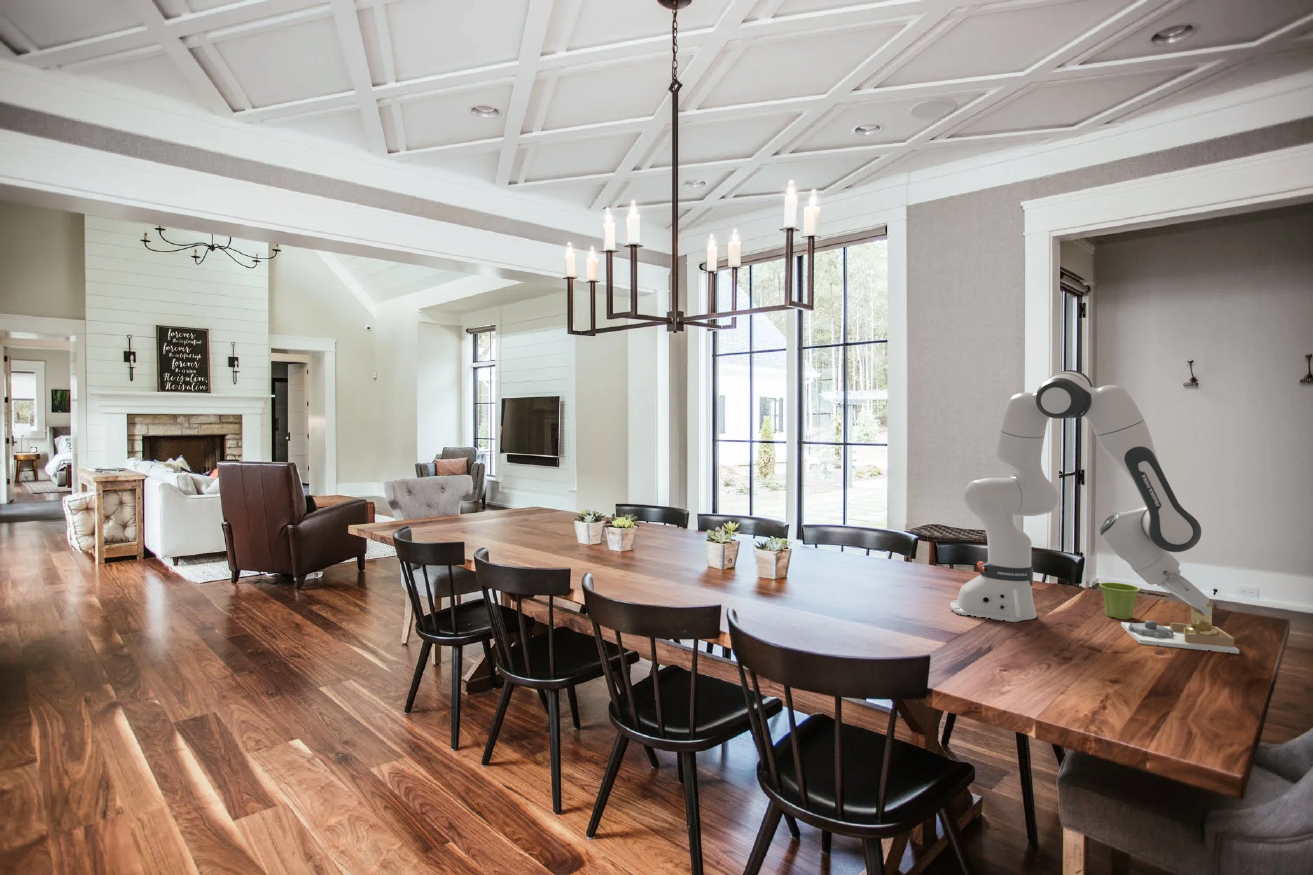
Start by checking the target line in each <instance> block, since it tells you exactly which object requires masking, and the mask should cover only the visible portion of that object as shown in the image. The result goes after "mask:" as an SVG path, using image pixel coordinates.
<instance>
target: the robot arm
mask: <svg viewBox="0 0 1313 875" xmlns="http://www.w3.org/2000/svg"><path fill="white" fill-rule="evenodd" d="M1083 417H1084V418H1085V419H1086V420H1087V421H1088V423H1089V425H1090V426H1091V429H1092V431H1093V433H1094V435H1095V437H1096V440H1097V442H1098V443H1099V446H1100V447H1101V448H1102V450H1103V452H1105V454H1106V455H1107V457H1108V458H1109V459H1110V460H1111V461H1112V462H1113V463H1115V464H1116V465H1117V466H1119V467H1120V468H1121V469H1122V470H1123V471H1124V472H1125V473H1126V474H1127V475H1128V477H1129V478H1131V480H1132V481H1133V483H1134V485H1135V487H1136V488H1137V491H1138V493H1139V495H1140V497H1141V500H1142V502H1143V503H1144V505H1145V506H1142V507H1140V508H1139V507H1138V508H1136V509H1132V510H1128V511H1117V512H1114V513H1113V514H1111V515H1108V517H1107V518H1106V519H1105V520H1104V522H1103V523H1102V525H1101V526H1100V530H1099V534H1100V538H1101V539H1102V541H1103V542H1104V543H1105V544H1106V545H1107V546H1108V548H1110V549H1111V550H1112V551H1113V553H1115V554H1116V555H1117V556H1118V557H1119V558H1120V559H1122V560H1124V561H1125V562H1127V563H1128V565H1129V566H1130V568H1131V569H1132V570H1133V572H1135V573H1136V574H1137V575H1138V576H1139V577H1141V579H1143V581H1145V582H1146V583H1147V584H1148V585H1156V586H1158V587H1161V588H1163V589H1164V590H1166V592H1169V593H1170V594H1172V595H1174V596H1175V597H1177V598H1178V599H1180V600H1182V601H1183V602H1184V603H1186V604H1188V605H1190V606H1193V607H1194V608H1196V609H1199V610H1200V611H1201V612H1202V613H1203V614H1205V615H1208V614H1210V613H1211V612H1212V613H1213V609H1212V610H1211V609H1210V608H1209V607H1210V606H1209V607H1207V605H1206V603H1207V602H1209V603H1210V598H1209V597H1208V596H1206V594H1204V593H1203V592H1202V591H1201V590H1200V589H1199V588H1198V587H1196V586H1195V584H1193V583H1192V582H1191V581H1190V580H1188V579H1187V578H1186V577H1185V576H1184V575H1181V572H1182V571H1181V570H1180V569H1179V568H1180V566H1181V564H1180V562H1179V560H1177V559H1176V558H1175V557H1174V556H1173V555H1172V554H1171V553H1182V552H1185V551H1188V550H1190V549H1192V548H1194V547H1195V546H1197V544H1198V543H1199V541H1200V539H1201V536H1202V527H1201V525H1200V523H1199V520H1198V519H1196V518H1195V517H1194V516H1193V515H1192V514H1190V513H1189V512H1188V511H1187V510H1185V509H1184V508H1183V506H1182V505H1181V504H1180V503H1179V501H1178V499H1177V498H1176V495H1175V494H1174V491H1173V489H1172V488H1171V486H1170V483H1169V482H1168V480H1167V478H1166V476H1165V473H1164V472H1163V470H1162V467H1161V466H1160V461H1159V459H1158V455H1157V454H1156V449H1155V446H1154V444H1153V440H1152V436H1151V433H1150V431H1149V428H1148V426H1147V425H1148V424H1147V423H1146V421H1145V418H1144V417H1143V415H1142V412H1141V410H1140V409H1139V407H1138V405H1137V404H1136V402H1135V400H1134V399H1133V398H1132V396H1131V395H1130V393H1128V391H1127V390H1126V389H1125V388H1124V387H1122V386H1120V385H1116V384H1109V385H1108V384H1107V385H1103V386H1100V387H1093V383H1092V381H1091V380H1090V378H1089V377H1088V376H1087V375H1086V374H1085V373H1083V372H1081V371H1079V370H1073V369H1069V370H1068V369H1066V370H1063V371H1059V372H1058V373H1055V374H1054V375H1052V376H1050V377H1049V378H1047V380H1045V381H1044V382H1043V383H1042V384H1041V385H1040V386H1039V387H1038V389H1037V391H1036V392H1019V393H1016V394H1014V395H1013V396H1011V397H1010V399H1008V402H1007V404H1006V407H1005V410H1004V414H1003V416H1002V419H1001V424H1000V428H999V435H998V441H997V445H996V457H997V459H998V460H999V461H1000V463H1001V464H1003V465H1005V466H1007V467H1008V468H1010V476H1009V477H985V478H981V479H975V480H971V481H970V482H968V484H967V485H966V486H965V489H964V491H963V502H964V504H965V507H966V508H967V510H968V511H969V512H970V513H972V514H973V515H974V516H975V517H977V519H978V520H979V521H980V523H981V524H982V526H983V528H984V530H985V534H986V540H987V561H986V562H983V561H978V562H977V563H976V566H977V568H978V569H979V575H978V576H975V577H974V578H972V579H970V580H969V581H967V582H965V583H964V584H962V586H961V587H960V589H959V592H958V597H957V599H954V600H952V601H950V603H949V604H950V605H949V608H951V609H950V610H951V611H952V610H953V611H954V612H953V611H952V612H953V613H954V614H957V613H958V614H957V615H960V614H961V615H962V616H967V615H971V616H970V617H974V616H976V617H975V618H981V617H986V618H985V619H988V618H991V619H990V620H996V621H1003V620H1005V622H1011V623H1017V622H1021V621H1026V620H1027V621H1028V620H1033V619H1035V618H1037V617H1038V616H1037V615H1038V614H1037V613H1036V612H1037V610H1036V608H1035V604H1034V599H1033V598H1034V597H1033V589H1032V586H1033V584H1034V567H1033V566H1032V540H1031V538H1030V537H1029V535H1028V534H1026V532H1024V531H1022V530H1020V528H1017V527H1016V525H1015V522H1014V517H1036V516H1041V515H1046V514H1050V513H1052V512H1053V511H1054V510H1055V509H1056V508H1057V505H1058V503H1059V502H1058V501H1059V492H1058V490H1057V488H1056V486H1055V485H1054V484H1053V483H1052V482H1051V481H1050V480H1049V479H1048V478H1047V477H1046V475H1045V474H1044V471H1043V468H1042V454H1043V453H1042V452H1043V446H1044V442H1045V435H1046V430H1047V425H1048V422H1049V420H1050V418H1052V419H1057V420H1059V419H1079V418H1083ZM1207 597H1208V598H1209V599H1208V598H1207Z"/></svg>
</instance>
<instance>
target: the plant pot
mask: <svg viewBox="0 0 1313 875" xmlns="http://www.w3.org/2000/svg"><path fill="white" fill-rule="evenodd" d="M1099 587H1101V592H1102V594H1103V603H1104V609H1105V610H1104V612H1105V615H1106V616H1107V617H1109V618H1115V619H1118V620H1130V619H1132V618H1133V615H1134V614H1133V613H1134V609H1135V603H1136V600H1137V599H1136V598H1137V596H1138V595H1139V594H1138V593H1139V591H1140V590H1141V587H1139V586H1136V585H1132V584H1129V583H1128V584H1127V583H1121V582H1119V583H1118V582H1101V583H1099Z"/></svg>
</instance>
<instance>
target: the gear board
mask: <svg viewBox="0 0 1313 875" xmlns="http://www.w3.org/2000/svg"><path fill="white" fill-rule="evenodd" d="M1187 625H1191V623H1181V622H1170V626H1169V625H1158V623H1157V621H1155V620H1150V619H1146V620H1144V622H1141V623H1140V622H1136V623H1135V622H1125V621H1121V622H1120V626H1121V628H1123V629H1124V630H1125V631H1126V632H1127V633H1128V634H1129V635H1130V636H1131V637H1132V639H1134V640H1135V641H1136V642H1137V641H1138V642H1137V643H1138V644H1139V643H1140V645H1149V646H1157V645H1159V647H1168V648H1169V647H1170V648H1181V649H1191V650H1200V651H1208V650H1211V651H1210V652H1221V653H1228V652H1229V653H1231V654H1240V649H1239V648H1237V646H1235V637H1233V636H1231V635H1230V634H1228V633H1227V632H1226V631H1224V630H1222V629H1221V628H1220V627H1218V626H1215V625H1214V626H1213V625H1212V629H1215V630H1218V631H1219V636H1208V635H1197V634H1187V633H1184V627H1186V626H1187ZM1229 653H1228V654H1229Z"/></svg>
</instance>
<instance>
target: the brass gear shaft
mask: <svg viewBox="0 0 1313 875" xmlns="http://www.w3.org/2000/svg"><path fill="white" fill-rule="evenodd" d="M1206 597H1207V598H1208V599H1209V600H1210V597H1209V596H1206ZM1206 605H1207V607H1209V608H1210V609H1211V610H1212V612H1211V613H1210V614H1208V615H1205V614H1203V613H1202V612H1201V611H1200V610H1199V609H1196V608H1194V607H1193V606H1191V605H1190V606H1191V607H1190V608H1191V610H1190V612H1191V613H1190V616H1191V617H1190V618H1191V619H1190V620H1191V621H1190V624H1191V625H1187V626H1186V627H1184V633H1187V634H1197V635H1208V636H1219V631H1218V630H1215V629H1212V626H1213V625H1212V623H1213V622H1212V621H1213V616H1212V615H1213V608H1212V606H1210V601H1209V602H1207V603H1206Z"/></svg>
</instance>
